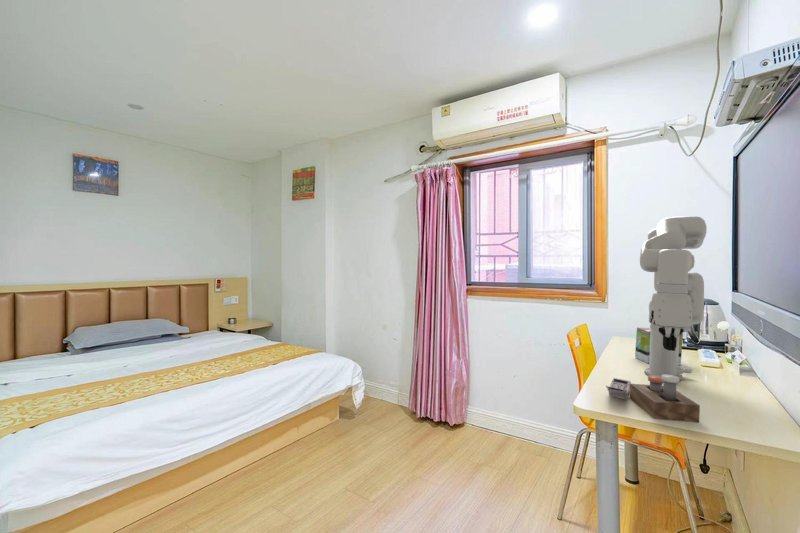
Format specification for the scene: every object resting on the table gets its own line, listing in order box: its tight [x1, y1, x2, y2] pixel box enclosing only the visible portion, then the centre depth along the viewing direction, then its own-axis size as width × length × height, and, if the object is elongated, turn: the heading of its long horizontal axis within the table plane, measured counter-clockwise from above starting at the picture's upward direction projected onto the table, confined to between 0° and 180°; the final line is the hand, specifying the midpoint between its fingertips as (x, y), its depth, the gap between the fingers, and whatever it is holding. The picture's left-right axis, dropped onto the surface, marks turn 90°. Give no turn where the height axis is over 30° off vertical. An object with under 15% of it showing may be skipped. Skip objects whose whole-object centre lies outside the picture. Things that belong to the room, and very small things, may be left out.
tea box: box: [634, 327, 684, 365], centre depth 171 cm, size 15×10×15 cm
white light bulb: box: [661, 374, 680, 401], centre depth 112 cm, size 4×4×7 cm
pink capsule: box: [647, 375, 664, 392], centre depth 120 cm, size 4×4×7 cm
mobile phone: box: [605, 377, 632, 400], centre depth 129 cm, size 6×6×25 cm
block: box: [629, 383, 701, 423], centre depth 116 cm, size 12×16×5 cm
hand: (669, 349), depth 113 cm, fingers closed
